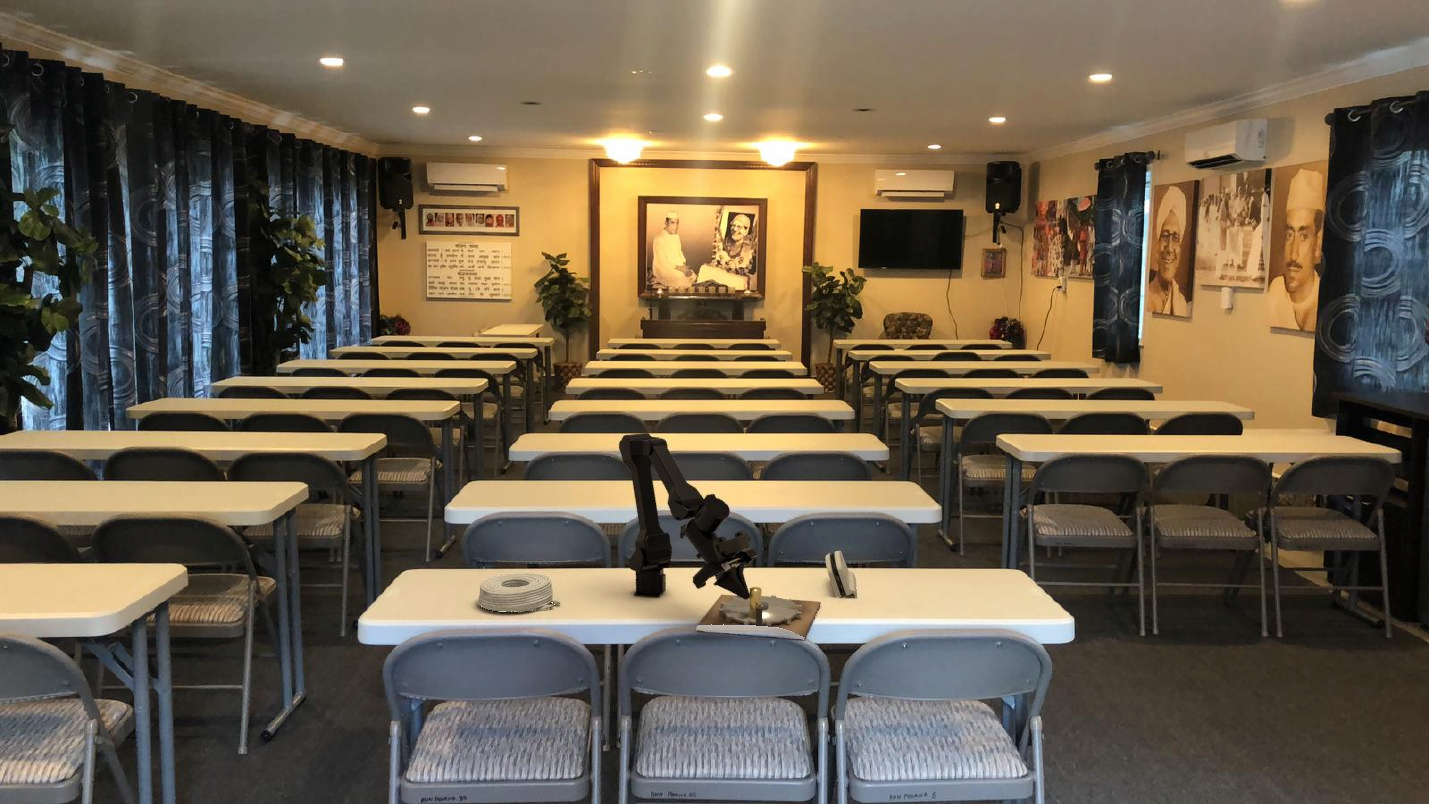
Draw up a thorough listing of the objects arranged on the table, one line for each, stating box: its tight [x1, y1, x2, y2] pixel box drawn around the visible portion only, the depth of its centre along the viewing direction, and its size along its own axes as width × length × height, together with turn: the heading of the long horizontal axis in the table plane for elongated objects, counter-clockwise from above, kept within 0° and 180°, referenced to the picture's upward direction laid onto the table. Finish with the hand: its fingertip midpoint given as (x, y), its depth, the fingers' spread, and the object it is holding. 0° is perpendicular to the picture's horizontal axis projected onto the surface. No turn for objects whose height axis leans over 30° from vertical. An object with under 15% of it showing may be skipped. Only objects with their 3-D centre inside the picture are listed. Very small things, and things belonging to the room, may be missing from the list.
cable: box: [477, 572, 561, 612], centre depth 253 cm, size 18×18×6 cm
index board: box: [697, 594, 822, 639], centre depth 242 cm, size 24×24×6 cm
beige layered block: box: [825, 550, 858, 599], centre depth 264 cm, size 17×5×10 cm, turn 174°
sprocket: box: [718, 586, 802, 627], centre depth 241 cm, size 19×19×8 cm
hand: (748, 598), depth 235 cm, fingers closed
